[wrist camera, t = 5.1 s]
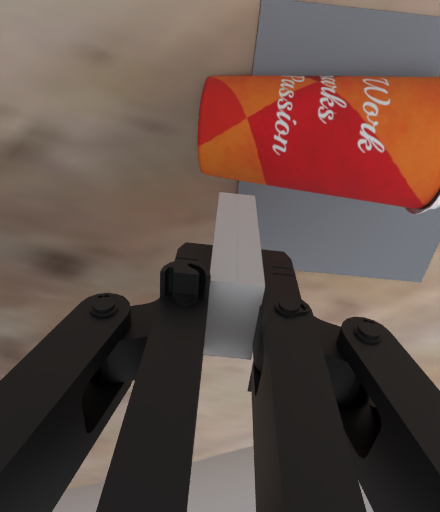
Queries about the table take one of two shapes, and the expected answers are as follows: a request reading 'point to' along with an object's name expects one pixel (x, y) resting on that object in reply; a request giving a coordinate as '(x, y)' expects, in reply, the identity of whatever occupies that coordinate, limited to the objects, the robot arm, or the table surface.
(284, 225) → the rubber mat
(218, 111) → the paper cup
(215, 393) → the table surface
